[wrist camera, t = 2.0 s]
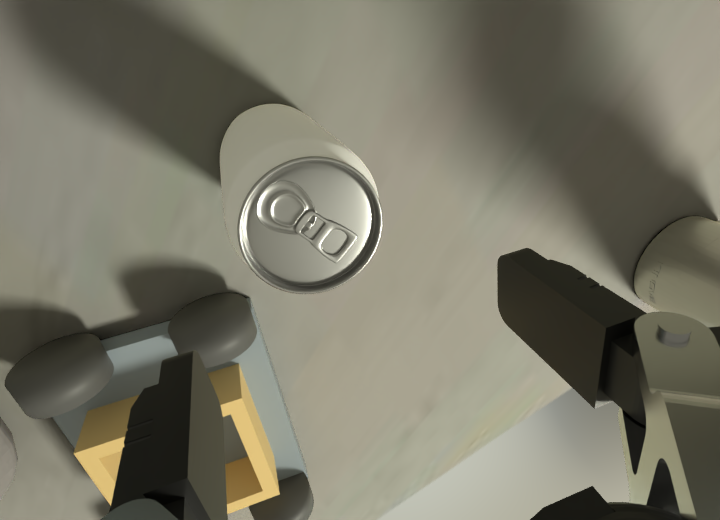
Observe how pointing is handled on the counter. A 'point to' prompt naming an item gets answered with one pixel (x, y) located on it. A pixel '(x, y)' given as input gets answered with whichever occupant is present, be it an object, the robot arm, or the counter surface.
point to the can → (296, 201)
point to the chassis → (142, 369)
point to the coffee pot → (6, 458)
